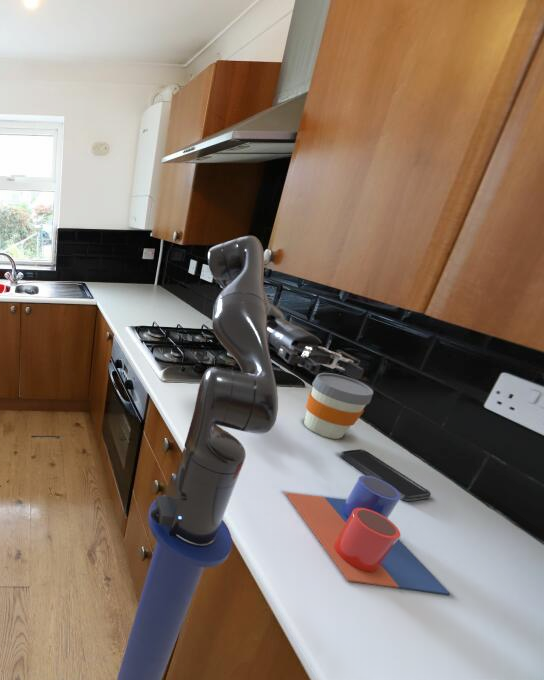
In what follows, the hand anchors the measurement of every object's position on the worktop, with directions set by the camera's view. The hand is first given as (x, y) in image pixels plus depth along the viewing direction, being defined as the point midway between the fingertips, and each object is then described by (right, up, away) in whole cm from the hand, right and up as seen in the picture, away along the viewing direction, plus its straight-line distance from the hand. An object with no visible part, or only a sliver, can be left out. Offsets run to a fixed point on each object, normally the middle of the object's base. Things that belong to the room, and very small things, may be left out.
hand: (339, 372), depth 73 cm
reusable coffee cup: (+20, -19, +28) cm, 39 cm away
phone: (+20, -26, +11) cm, 35 cm away
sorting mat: (-1, -32, -5) cm, 32 cm away
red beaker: (-5, -33, -9) cm, 34 cm away
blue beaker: (+3, -30, -2) cm, 30 cm away
